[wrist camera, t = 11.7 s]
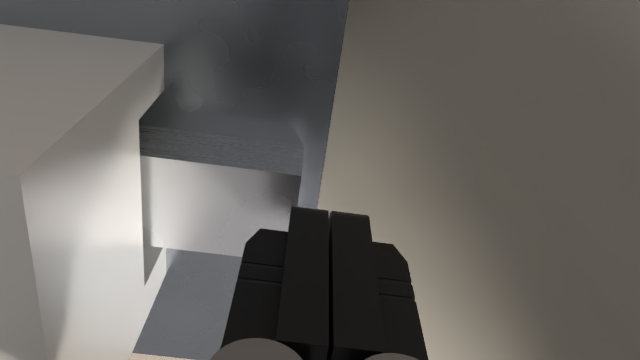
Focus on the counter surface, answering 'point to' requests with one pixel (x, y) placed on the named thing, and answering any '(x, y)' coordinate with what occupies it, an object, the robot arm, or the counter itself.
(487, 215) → the counter surface
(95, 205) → the block
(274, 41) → the rail plate
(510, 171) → the counter surface
